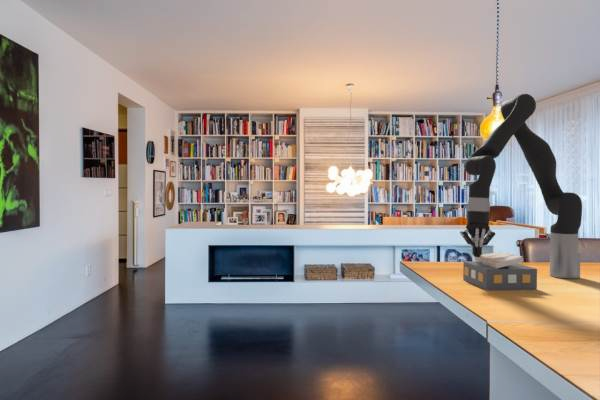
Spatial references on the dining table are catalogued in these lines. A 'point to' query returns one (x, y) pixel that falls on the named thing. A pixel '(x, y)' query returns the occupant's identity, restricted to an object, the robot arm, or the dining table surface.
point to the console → (500, 276)
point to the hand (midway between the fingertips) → (476, 256)
